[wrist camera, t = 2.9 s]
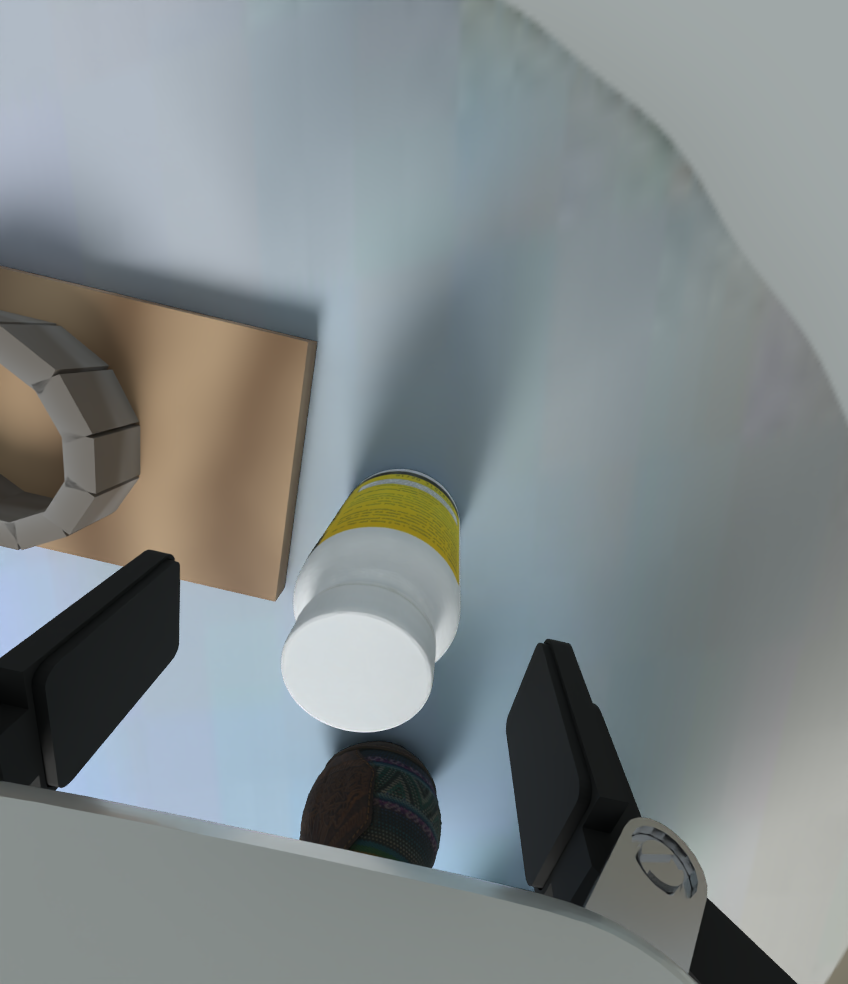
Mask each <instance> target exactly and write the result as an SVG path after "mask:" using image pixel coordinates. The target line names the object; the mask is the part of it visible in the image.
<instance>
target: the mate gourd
mask: <svg viewBox="0 0 848 984" xmlns="http://www.w3.org/2000/svg"><path fill="white" fill-rule="evenodd" d="M441 824H442V822H441V814H440V809H439V805H438V800H437V795H436V788H435V783H434V781H433V779H432V777H431V775H430V774H429V772H428V770H427V769H426V767H425V766H424V765H423V763H422V762H421V761H420V760H419V759H418V758H417V757H416V756H414V755H413V754H412V753H410V752H409V751H407V750H406V749H405V748H403V747H401V746H399V745H396V744H393V743H390V742H383V741H378V742H377V741H374V742H365V743H360V744H357V745H353V746H350V747H348V748H346V749H344V750H342V751H340V752H338V753H337V754H335V755H334V756H333V757H332V758H331V759H330V760H329V761H328V763H327V764H326V767H325V769H324V770H323V771H322V773H321V774H320V775H319V776H318V778H317V780H316V781H315V783H314V785H313V787H312V789H311V791H310V793H309V795H308V798H307V802H306V805H305V808H304V811H303V815H302V821H301V831H300V834H301V835H300V839H299V840H301V841H306V842H311V843H315V844H320V845H325V846H330V847H335V848H339V849H344V850H349V851H353V852H358V853H363V854H367V855H372V856H377V857H381V858H386V859H390V860H395V861H400V862H404V863H409V864H414V865H418V866H423V867H428V868H432V867H433V865H434V862H435V859H436V854H437V851H438V849H439V842H440V836H441Z"/></svg>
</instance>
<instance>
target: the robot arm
mask: <svg viewBox="0 0 848 984" xmlns="http://www.w3.org/2000/svg"><path fill="white" fill-rule="evenodd" d="M179 609H180V564H179V562H177V561H175V558H174V556H173V555H172V554H168V553H164V552H159V551H155V550H146V551H144V552H143V553H141V554H140V555H138V556H137V557H136V558H134V559H133V560H132V561H130V562H129V563H128V564H126V565H125V566H124V567H122V568H121V569H120V570H118V571H117V572H116V573H114V574H113V575H112V576H110V577H109V578H107V579H106V580H105V581H103V582H102V583H101V584H99V585H98V586H97V587H95V588H94V589H93V590H91V591H90V592H89V593H87V594H86V595H85V596H83V597H82V598H80V599H79V600H78V601H76V602H75V603H74V604H72V605H71V606H70V607H68V608H67V609H66V610H64V611H63V612H62V613H60V614H59V615H58V616H56V617H55V618H54V619H52V620H51V621H49V622H48V623H47V624H45V625H44V626H43V627H41V628H40V629H39V630H37V631H36V632H35V633H33V634H32V635H31V636H29V637H28V638H27V639H25V640H24V641H23V642H21V643H20V644H18V645H17V646H16V647H14V648H13V649H12V650H10V651H9V652H8V653H6V654H5V655H4V656H2V657H1V658H0V984H797V983H796V982H795V981H794V980H793V979H792V978H791V977H790V976H789V975H788V974H787V973H786V972H785V971H784V970H782V969H781V968H780V967H779V966H778V965H777V964H776V963H775V962H774V961H773V960H772V959H771V958H770V957H769V956H768V955H767V954H766V953H765V952H764V951H763V950H761V949H760V948H759V947H758V946H757V945H756V944H755V943H754V942H753V941H752V940H751V939H750V938H749V937H748V936H747V935H746V934H745V933H744V932H743V931H742V930H740V929H739V928H738V927H737V926H736V925H735V924H734V923H733V922H732V921H731V920H730V919H729V918H728V917H727V916H726V915H725V914H724V913H723V912H722V911H720V910H719V909H718V908H717V907H716V906H715V905H714V904H713V903H712V902H711V901H710V900H709V899H708V898H707V883H706V879H705V875H704V872H703V870H702V868H701V866H700V864H699V862H698V860H697V858H696V857H695V855H694V854H693V853H692V851H691V850H690V849H689V847H688V846H687V845H686V843H685V842H684V841H683V840H682V839H681V838H680V837H678V836H677V835H676V834H675V833H674V832H673V831H672V830H670V829H669V828H667V827H666V826H664V825H663V824H661V823H659V822H657V821H654V820H652V819H650V818H642V817H641V815H640V812H639V810H638V807H637V804H636V802H635V799H634V797H633V794H632V791H631V789H630V786H629V784H628V781H627V778H626V776H625V773H624V771H623V768H622V765H621V763H620V760H619V758H618V755H617V752H616V750H615V747H614V745H613V742H612V739H611V737H610V734H609V732H608V729H607V726H606V724H605V721H604V718H603V716H602V713H601V711H600V709H599V708H598V706H596V705H595V704H593V703H592V700H591V698H590V695H589V692H588V689H587V687H586V684H585V681H584V679H583V676H582V673H581V671H580V668H579V665H578V662H577V660H576V657H575V654H574V652H573V649H572V647H571V645H570V644H569V643H565V642H560V641H556V640H551V639H546V640H545V642H544V644H543V643H538V644H537V646H536V648H535V650H534V653H533V655H532V658H531V660H530V663H529V665H528V668H527V670H526V673H525V675H524V678H523V680H522V683H521V685H520V688H519V690H518V693H517V695H516V697H515V700H514V702H513V705H512V707H511V710H510V712H509V715H508V718H507V723H506V734H507V741H508V749H509V756H510V764H511V771H512V779H513V786H514V794H515V801H516V809H517V817H518V824H519V832H520V839H521V847H522V854H523V862H524V869H525V876H526V880H527V883H528V885H529V886H533V887H534V890H535V892H532V891H528V890H524V889H519V888H515V887H511V886H507V885H502V884H498V883H494V882H490V881H485V880H481V879H477V878H473V877H469V876H464V875H460V874H455V873H451V872H446V871H442V870H437V869H432V868H428V867H423V866H418V865H414V864H409V863H404V862H400V861H395V860H390V859H386V858H381V857H377V856H372V855H367V854H363V853H358V852H353V851H349V850H344V849H339V848H335V847H330V846H325V845H320V844H315V843H311V842H306V841H301V840H296V839H292V838H287V837H282V836H277V835H273V834H268V833H263V832H258V831H253V830H249V829H244V828H239V827H234V826H229V825H225V824H220V823H215V822H210V821H205V820H200V819H196V818H191V817H186V816H181V815H176V814H171V813H166V812H161V811H156V810H151V809H146V808H141V807H136V806H131V805H127V804H122V803H117V802H112V801H107V800H102V799H97V798H92V797H87V796H82V795H76V794H71V793H65V792H60V791H55V790H56V789H57V788H58V787H60V788H63V787H65V786H66V785H68V784H69V783H70V782H71V781H72V780H73V779H74V777H75V776H76V775H77V774H78V773H79V771H80V770H81V769H82V768H83V767H84V765H85V764H86V763H87V762H88V761H89V759H90V758H91V757H92V756H93V755H94V753H95V752H96V751H97V750H98V749H99V747H100V746H101V745H102V744H103V743H104V741H105V740H106V739H107V738H108V737H109V735H110V734H111V733H112V732H113V730H114V729H115V728H116V727H117V726H118V724H119V723H120V722H121V721H122V720H123V718H124V717H125V716H126V715H127V714H128V712H129V711H130V710H131V709H132V708H133V706H134V705H135V704H136V703H137V702H138V700H139V699H140V698H141V697H142V696H143V694H144V693H145V692H146V691H147V690H148V688H149V687H150V686H151V685H152V684H153V682H154V681H155V680H156V679H157V678H158V676H159V675H160V674H161V673H162V671H163V670H164V669H165V668H166V667H167V665H168V664H169V663H170V662H171V661H172V659H173V658H174V656H175V655H176V652H177V650H178V646H179Z"/></svg>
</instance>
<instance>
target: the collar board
mask: <svg viewBox="0 0 848 984" xmlns="http://www.w3.org/2000/svg"><path fill="white" fill-rule="evenodd" d="M316 348H317V341H312V340H308V339H304V338H300V337H296V336H292V335H287V334H283V333H279V332H275V331H271V330H267V329H263V328H258V327H254V326H250V325H246V324H242V323H238V322H233V321H229V320H225V319H221V318H217V317H213V316H208V315H204V314H200V313H196V312H192V311H188V310H183V309H179V308H175V307H171V306H167V305H163V304H158V303H154V302H150V301H146V300H142V299H138V298H133V297H129V296H125V295H121V294H117V293H113V292H108V291H104V290H100V289H96V288H92V287H88V286H83V285H79V284H75V283H71V282H67V281H63V280H58V279H54V278H50V277H46V276H42V275H38V274H33V273H29V272H25V271H21V270H17V269H13V268H8V267H4V266H0V546H3V547H7V548H12V549H16V550H19V549H22V550H24V549H27V548H30V547H34V546H38V547H42V548H46V549H51V550H55V551H59V552H64V553H68V554H72V555H77V556H81V557H85V558H90V559H94V560H98V561H102V562H107V563H111V564H115V565H120V566H125V565H126V564H128V563H129V562H130V561H132V560H133V559H134V558H136V557H137V556H138V555H140V554H141V553H143V552H144V551H146V550H155V551H159V552H164V553H168V554H172V555H173V556H174V558H175V561H177V562H179V564H180V580H184V581H189V582H193V583H197V584H202V585H206V586H210V587H215V588H219V589H223V590H228V591H232V592H236V593H241V594H245V595H249V596H253V597H258V598H262V599H266V600H271V601H276V600H277V598H278V597H279V595H280V594H281V592H282V591H283V589H284V588H285V581H286V573H287V566H288V558H289V551H290V543H291V536H292V528H293V521H294V513H295V506H296V498H297V491H298V483H299V476H300V468H301V461H302V453H303V446H304V438H305V431H306V423H307V416H308V408H309V401H310V393H311V386H312V378H313V371H314V363H315V356H316Z"/></svg>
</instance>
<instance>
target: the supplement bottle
mask: <svg viewBox="0 0 848 984" xmlns="http://www.w3.org/2000/svg"><path fill="white" fill-rule="evenodd" d="M293 608H294V615H295V620H296V623H295V625H294V626H293V628H292V630H291V632H290V634H289V636H288V637H287V639H286V641H285V644H284V647H283V651H282V656H281V670H282V675H283V680H284V682H285V685H286V687H287V689H288V691H289V692H290V694H291V696H292V697H293V699H294V700H295V701H296V702H297V704H298V705H299V706H300V707H301V708H303V709H304V710H305V711H306V712H307V713H308V714H310V715H311V716H313V717H314V718H316V719H317V720H319V721H321V722H323V723H325V724H327V725H330V726H332V727H335V728H338V729H342V730H346V731H353V732H377V731H383V730H387V729H391V728H394V727H396V726H399V725H401V724H403V723H404V722H406V721H408V720H410V719H411V718H412V717H413V716H414V715H416V714H417V713H418V712H419V711H420V710H421V709H422V707H423V706H424V704H425V703H426V701H427V699H428V697H429V695H430V693H431V689H432V685H433V679H434V668H435V662H437V661H438V660H439V659H440V658H441V657H442V656H443V654H444V653H445V652H446V651H447V649H448V648H449V647H450V645H451V643H452V641H453V639H454V637H455V635H456V632H457V629H458V625H459V620H460V611H461V597H460V518H459V513H458V510H457V507H456V504H455V502H454V500H453V499H452V497H451V495H450V494H449V493H448V491H447V490H446V489H445V488H444V487H443V486H442V485H441V484H440V483H439V482H437V481H436V480H434V479H433V478H431V477H429V476H428V475H425V474H423V473H420V472H417V471H414V470H408V469H392V470H386V471H382V472H379V473H376V474H374V475H372V476H370V477H368V478H367V479H365V480H364V481H362V482H361V483H360V484H359V485H358V486H357V487H356V488H355V489H354V490H353V492H352V493H351V494H350V495H349V497H348V498H347V500H346V501H345V503H344V504H343V506H342V507H341V509H340V510H339V512H338V513H337V515H336V516H335V518H334V519H333V521H332V522H331V524H330V525H329V527H328V528H327V530H326V531H325V533H324V534H323V536H322V537H321V538H320V540H319V541H318V543H317V544H316V546H315V547H314V549H313V550H312V552H311V553H310V555H309V556H308V558H307V560H306V562H305V563H304V565H303V567H302V569H301V570H300V572H299V575H298V577H297V580H296V584H295V588H294V595H293Z"/></svg>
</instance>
